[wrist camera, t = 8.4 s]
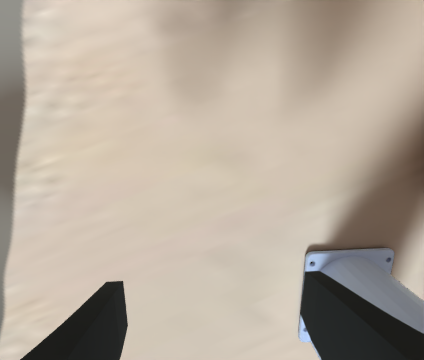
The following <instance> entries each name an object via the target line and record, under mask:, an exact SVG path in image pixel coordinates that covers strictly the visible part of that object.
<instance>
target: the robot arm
mask: <svg viewBox="0 0 424 360" xmlns="http://www.w3.org/2000/svg"><path fill="white" fill-rule="evenodd" d="M393 259H394V251H393V250H391V249H390V248H375V249H354V250H333V251H312V252H309V253H307V255H306V260H305V270H304V281H303V292H302V302H301V312H300V323H299V334H298V337H299V339H300V341H302V342H311V344H312V345H313V347H314V349H315V351H316V353H317V355H318V357H319V359H320V360H424V301H423V300H422V299H420V298H419V297H418V296H417V295H415V294H414V293H413V292H412V291H410V290H409V289H408V288H406V287H405V286H404V285H403V284H401V283H400V282H399V281H398V280H396V279H395V278H394V277H392V276H391V270H392V265H393ZM312 261H313V263H312V264H310V262H312ZM127 326H128V323H127V314H126V304H125V295H124V286H123V281H116V282H106V283H105V284H104V285H103V286H102V287H101V288H100V289H99V290H98V291H97V292H96V293H94V294H93V295H92V296H91V297H90V298H89V299H88V300H87V301H86V302H85V303H84V304H83V305H82V306H81V307H80V308H79V309H78V310H77V311H76V312H74V313H73V314H72V315H71V316H70V317H69V318H68V319H67V320H66V321H65V322H64V323H63V324H61V325H60V326H59V327H58V328H57V329H56V330H55V331H53V332H52V333H51V334H50V335H49V336H48V337H46V338H45V339H44V340H43V341H42V342H41V343H40V344H38V345H37V346H36V347H35V348H34V349H33V350H31V351H30V352H29V353H28V354H27V355H25V356H24V357H23V358H22V359H20V360H120V357H121V353H122V349H123V345H124V340H125V336H126V331H127Z"/></svg>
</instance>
